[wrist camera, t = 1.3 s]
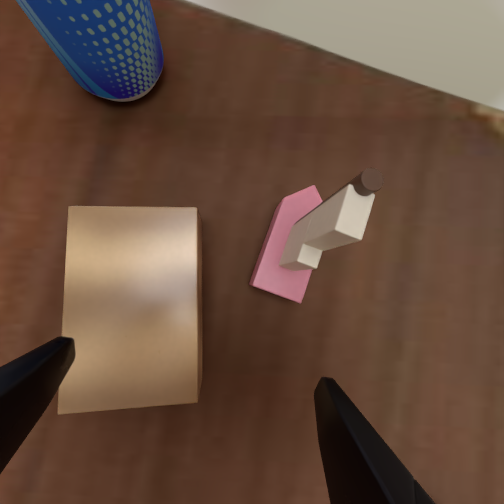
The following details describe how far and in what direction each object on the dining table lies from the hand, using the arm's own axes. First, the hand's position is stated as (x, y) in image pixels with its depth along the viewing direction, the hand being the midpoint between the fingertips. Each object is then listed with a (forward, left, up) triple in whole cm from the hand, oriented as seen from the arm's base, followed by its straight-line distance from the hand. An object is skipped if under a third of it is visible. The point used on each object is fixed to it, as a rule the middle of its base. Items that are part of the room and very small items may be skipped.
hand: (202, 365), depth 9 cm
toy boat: (+5, -8, -14) cm, 16 cm away
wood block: (+3, +5, -14) cm, 15 cm away
